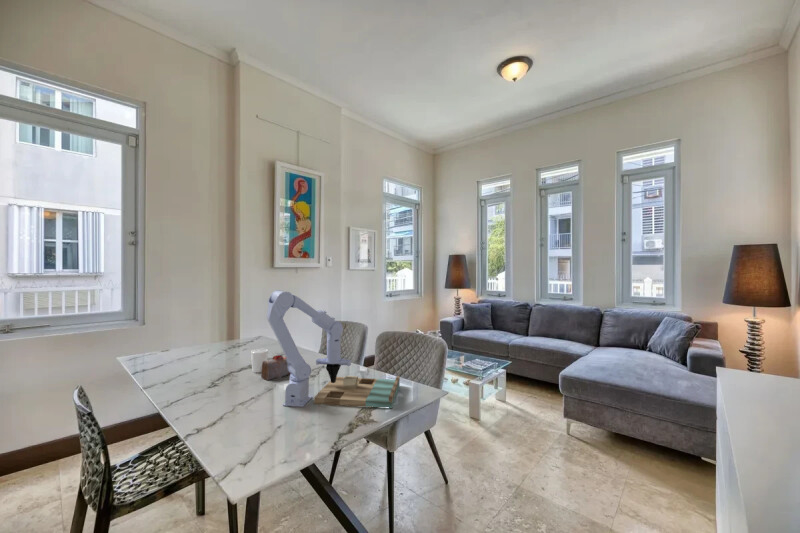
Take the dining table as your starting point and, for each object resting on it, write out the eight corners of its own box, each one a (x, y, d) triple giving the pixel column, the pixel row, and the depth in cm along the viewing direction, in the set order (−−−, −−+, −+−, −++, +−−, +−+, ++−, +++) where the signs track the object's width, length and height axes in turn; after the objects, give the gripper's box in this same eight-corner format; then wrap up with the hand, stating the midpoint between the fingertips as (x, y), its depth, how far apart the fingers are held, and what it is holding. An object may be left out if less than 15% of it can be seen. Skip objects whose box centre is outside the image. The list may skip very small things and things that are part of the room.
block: (355, 390, 132) (355, 380, 132) (343, 389, 133) (343, 379, 133) (358, 385, 137) (358, 376, 137) (346, 385, 138) (346, 375, 138)
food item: (286, 371, 163) (286, 351, 164) (295, 374, 158) (295, 354, 158) (259, 377, 153) (260, 356, 153) (268, 381, 148) (268, 360, 148)
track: (391, 409, 121) (391, 397, 121) (314, 404, 124) (314, 392, 124) (399, 385, 145) (399, 376, 145) (334, 382, 148) (334, 372, 148)
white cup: (263, 373, 159) (263, 352, 159) (247, 373, 159) (248, 352, 159) (270, 368, 167) (270, 348, 167) (255, 368, 167) (255, 348, 167)
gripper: (353, 347, 139) (352, 379, 139) (320, 346, 141) (320, 377, 141) (348, 352, 132) (348, 385, 132) (314, 350, 134) (314, 383, 134)
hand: (333, 382), depth 136 cm, fingers closed
